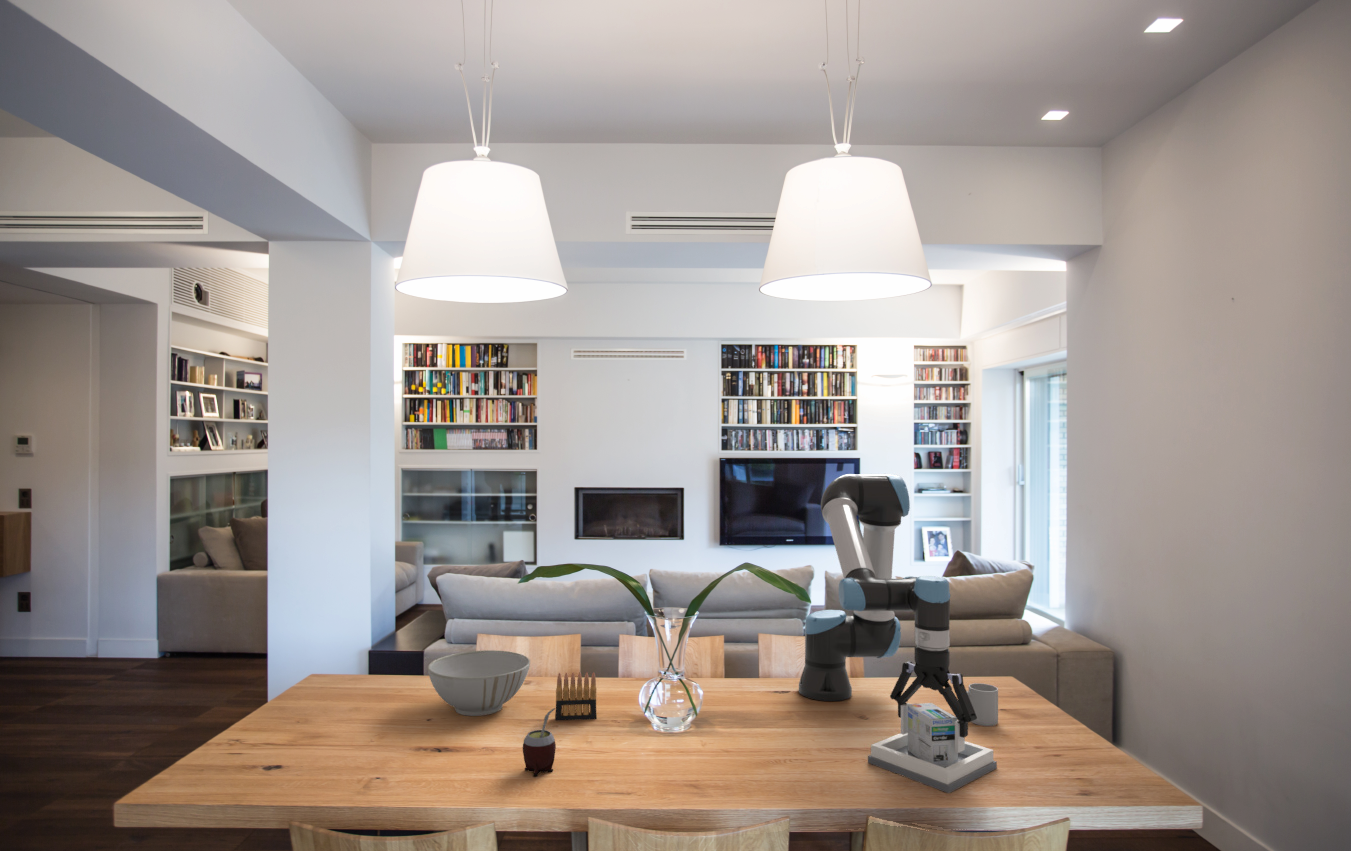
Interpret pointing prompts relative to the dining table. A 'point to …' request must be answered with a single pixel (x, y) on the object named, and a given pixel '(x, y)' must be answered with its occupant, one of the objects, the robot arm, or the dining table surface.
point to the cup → (984, 703)
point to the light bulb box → (932, 734)
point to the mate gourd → (539, 750)
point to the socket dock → (946, 779)
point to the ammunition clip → (576, 699)
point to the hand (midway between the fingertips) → (931, 741)
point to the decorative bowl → (478, 679)
